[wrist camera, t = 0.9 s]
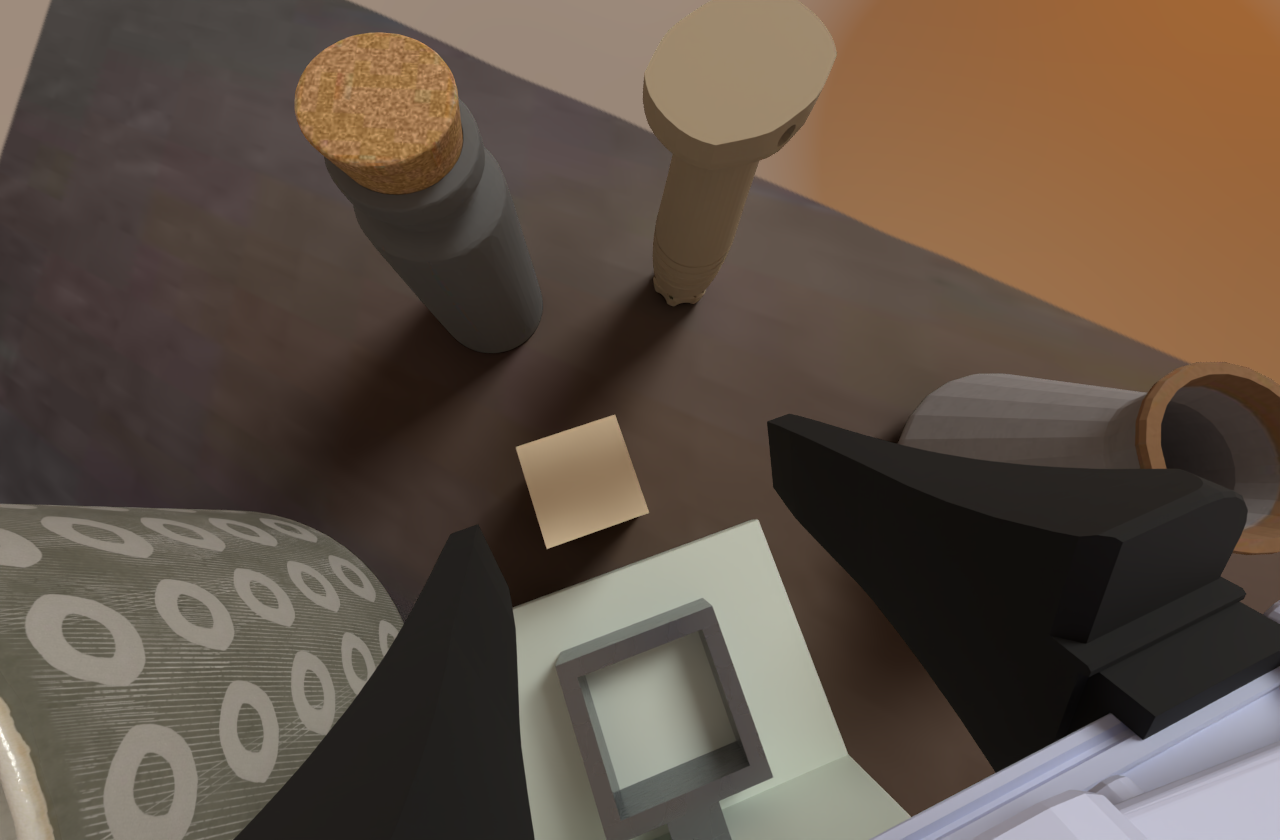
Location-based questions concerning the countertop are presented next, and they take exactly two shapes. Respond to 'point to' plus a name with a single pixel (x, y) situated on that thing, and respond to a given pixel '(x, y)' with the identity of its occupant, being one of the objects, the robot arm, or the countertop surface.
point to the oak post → (581, 481)
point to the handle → (725, 122)
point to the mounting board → (690, 698)
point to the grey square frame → (689, 787)
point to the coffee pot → (1123, 430)
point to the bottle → (422, 184)
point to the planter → (171, 665)
